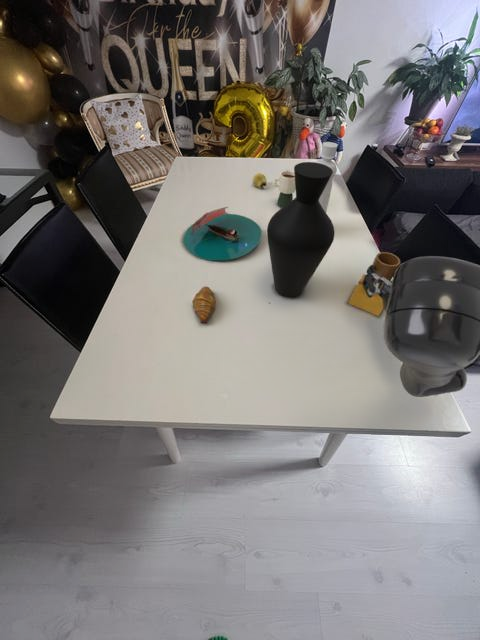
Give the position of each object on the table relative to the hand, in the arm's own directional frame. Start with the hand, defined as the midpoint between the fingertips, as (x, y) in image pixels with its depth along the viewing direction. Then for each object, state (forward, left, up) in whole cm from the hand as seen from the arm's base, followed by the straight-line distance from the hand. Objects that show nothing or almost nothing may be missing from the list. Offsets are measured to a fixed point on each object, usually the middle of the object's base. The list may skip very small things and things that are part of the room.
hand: (386, 268), depth 79 cm
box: (+1, -1, -13) cm, 13 cm away
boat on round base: (+55, -2, -13) cm, 56 cm away
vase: (+23, +8, -13) cm, 27 cm away
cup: (+1, -1, -7) cm, 8 cm away
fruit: (+65, -46, -13) cm, 80 cm away
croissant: (+39, +29, -13) cm, 50 cm away
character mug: (+48, -37, -13) cm, 61 cm away
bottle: (+31, -25, -13) cm, 41 cm away
